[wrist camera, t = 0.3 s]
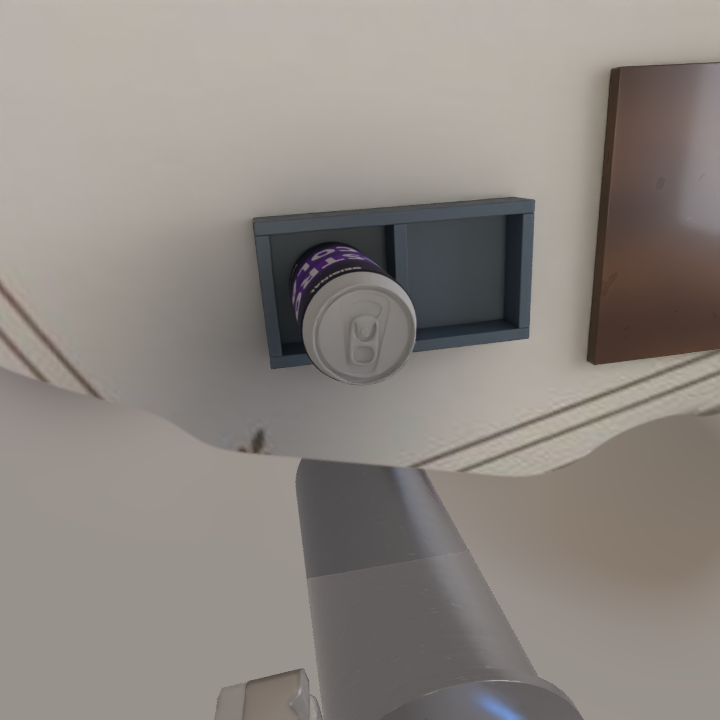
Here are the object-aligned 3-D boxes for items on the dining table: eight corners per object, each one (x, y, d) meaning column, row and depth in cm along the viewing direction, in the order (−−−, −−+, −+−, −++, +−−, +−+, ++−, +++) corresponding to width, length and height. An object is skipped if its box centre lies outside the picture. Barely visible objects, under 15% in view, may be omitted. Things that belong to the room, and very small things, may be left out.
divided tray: (510, 326, 40) (529, 338, 38) (270, 354, 38) (271, 369, 35) (514, 196, 37) (535, 199, 34) (253, 217, 35) (252, 222, 32)
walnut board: (748, 340, 44) (758, 344, 43) (586, 361, 42) (594, 365, 42) (800, 60, 38) (814, 57, 37) (611, 69, 36) (620, 66, 35)
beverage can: (376, 241, 36) (430, 276, 25) (371, 325, 38) (418, 392, 27) (289, 238, 35) (304, 272, 24) (287, 324, 37) (301, 394, 26)
